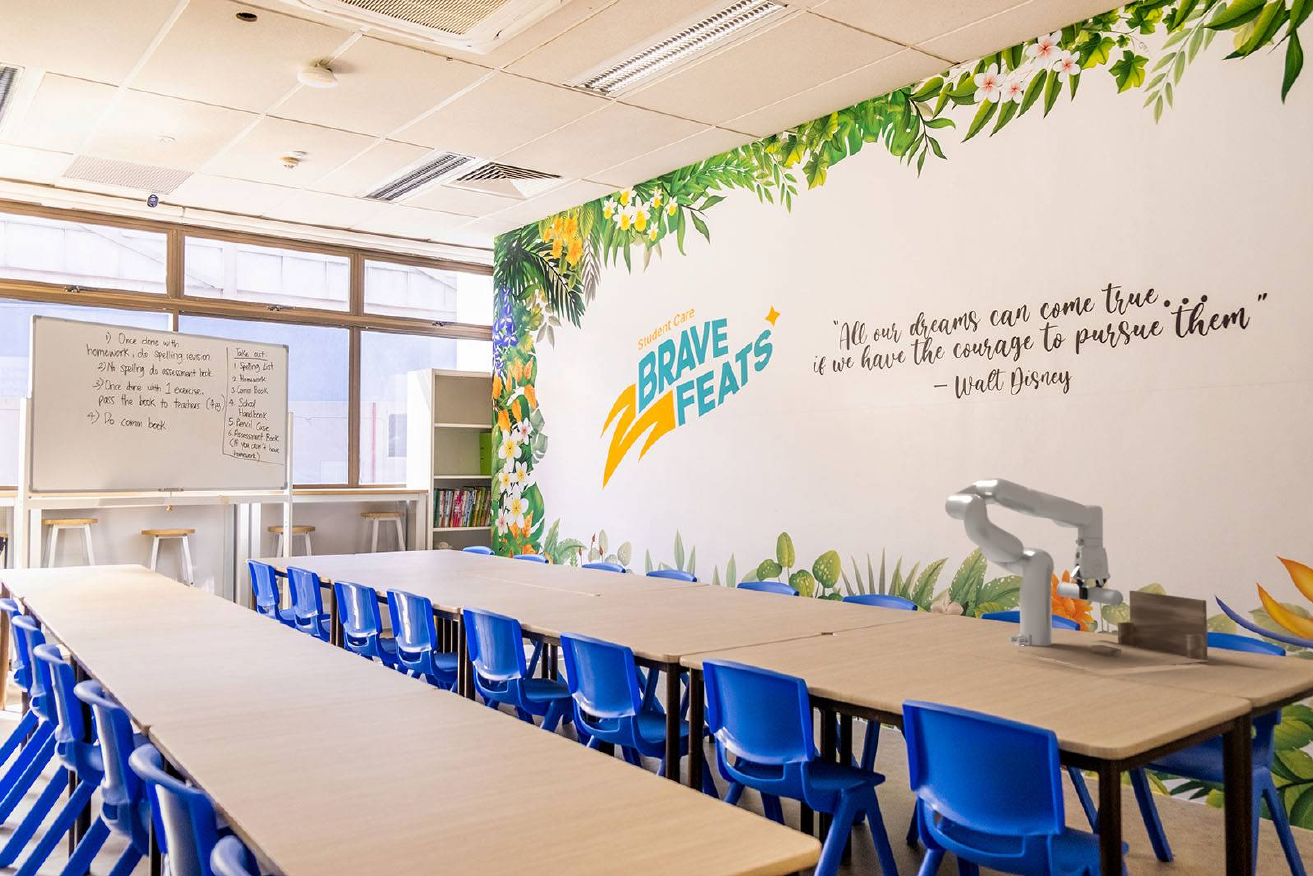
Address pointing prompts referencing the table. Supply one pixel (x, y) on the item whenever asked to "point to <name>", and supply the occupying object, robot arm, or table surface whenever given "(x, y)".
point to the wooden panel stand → (1166, 624)
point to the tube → (1090, 593)
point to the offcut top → (1106, 650)
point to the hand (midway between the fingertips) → (1090, 598)
